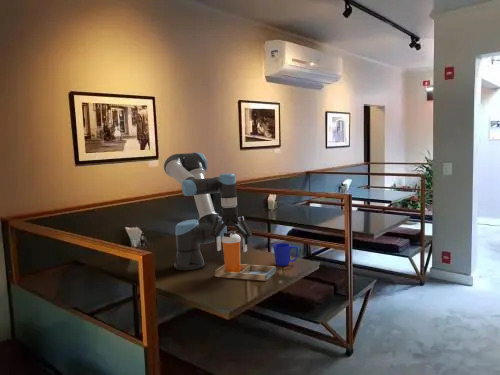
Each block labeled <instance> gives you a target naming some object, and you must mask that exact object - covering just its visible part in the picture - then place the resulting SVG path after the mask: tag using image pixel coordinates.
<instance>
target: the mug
mask: <svg viewBox="0 0 500 375" xmlns="http://www.w3.org/2000/svg"><path fill="white" fill-rule="evenodd" d="M292 249H296V250H295V252H296V253H295V258H294V259H291V250H292ZM273 252H274V253H273V254H274V260H275V264H276V266H279V267H286V266H288V265H289V264H290V262H292V263H293V262H296V260H298V254H299V247H298V246H291V245H290V244H289V243H286V242H285V243H284V242H279V243H275V244H274V245H273Z"/></svg>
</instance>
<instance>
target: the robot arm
mask: <svg viewBox="0 0 500 375" xmlns="http://www.w3.org/2000/svg"><path fill="white" fill-rule="evenodd" d="M163 171H164V173H165V174H167V176H169V177H171V178H173V179H175V181H176V182H177V183H179V185H180V186H181V191H182V194H183V195H184V196H185V197H190V196H191V197H194V198H193V199H194V201H195V206H196V208H197V209H196V210H197V211H198V215H199V218H198V219H194V218H193V219H186V220H183V221H180V222H178V223H177V224H176V225H175V234H174V235H175V241H176V243H175V244H176V255H175V259H174V269H175V268H176V269H175V270H178V271H192V270H197V269H201V268H203V267H204V266H205V261H204V257H203V255H202V252H201V248H200V245H205V244H211V243H215V244H216V249H217V250H216V251H217V252H219V251H221V250H222V237H223V234H224V233H227V230H228V229H227V227H234V228H236V229H237V231H238V232H239V233H240V235H242V249H243V253H246V252H247V251H248V245H249V238H250V237H252V235H253V234H252V231H251V229H250V228H249V225H248V224H247V222H246V219H245V216H244V215H243V216H239V212H238V209H239V208H238V195H237V194H238V193H237V179H236V174H235V173H228V172H226V173H221V174H219V176H213V177H208V178H207V177H206V178H205V176H206V174H207V171H208V161H207V158H206V157H205V155H204V153H201V152H189V153H174V154H172V155H170V156H168V157H167V158H166V160H165V161H164V164H163ZM218 193H219V194H220V202H221V204H220V206H221V208H220V210H221V216H220V215H219V214H220V213H218V212H216V211H215V207H214V204H213V200H212V197H211V194H218ZM240 223H241V224H240Z"/></svg>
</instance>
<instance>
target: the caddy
mask: <svg viewBox="0 0 500 375" xmlns="http://www.w3.org/2000/svg"><path fill="white" fill-rule="evenodd" d="M240 267H241V272H240V273H236V272H226V270H225V263H224V264H223V265H220V266H219V267H218V268H217V269H215V270H214V271H213V277H217V278H226V279H227V278H228V279H230V278H231V279H241V280H251V281H265V282H267V281H269V279H270V278H271V277H272V276H274V274H276V272H277V265H275V266H273V265H259V264H258V265H257V264H245V263H243V264H242V263H240Z"/></svg>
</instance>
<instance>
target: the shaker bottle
mask: <svg viewBox="0 0 500 375" xmlns="http://www.w3.org/2000/svg"><path fill="white" fill-rule="evenodd" d="M237 232H238V230H229V231H228V232H226V233H224V234H223V237H222V241H221V244H222V250H223V258H224V264H225V270H224V271H225V272H236V273H240V272H241V271H242V270H241V267H240V264H241V242H242V241H241V236H240V235H239V234H237Z"/></svg>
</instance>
